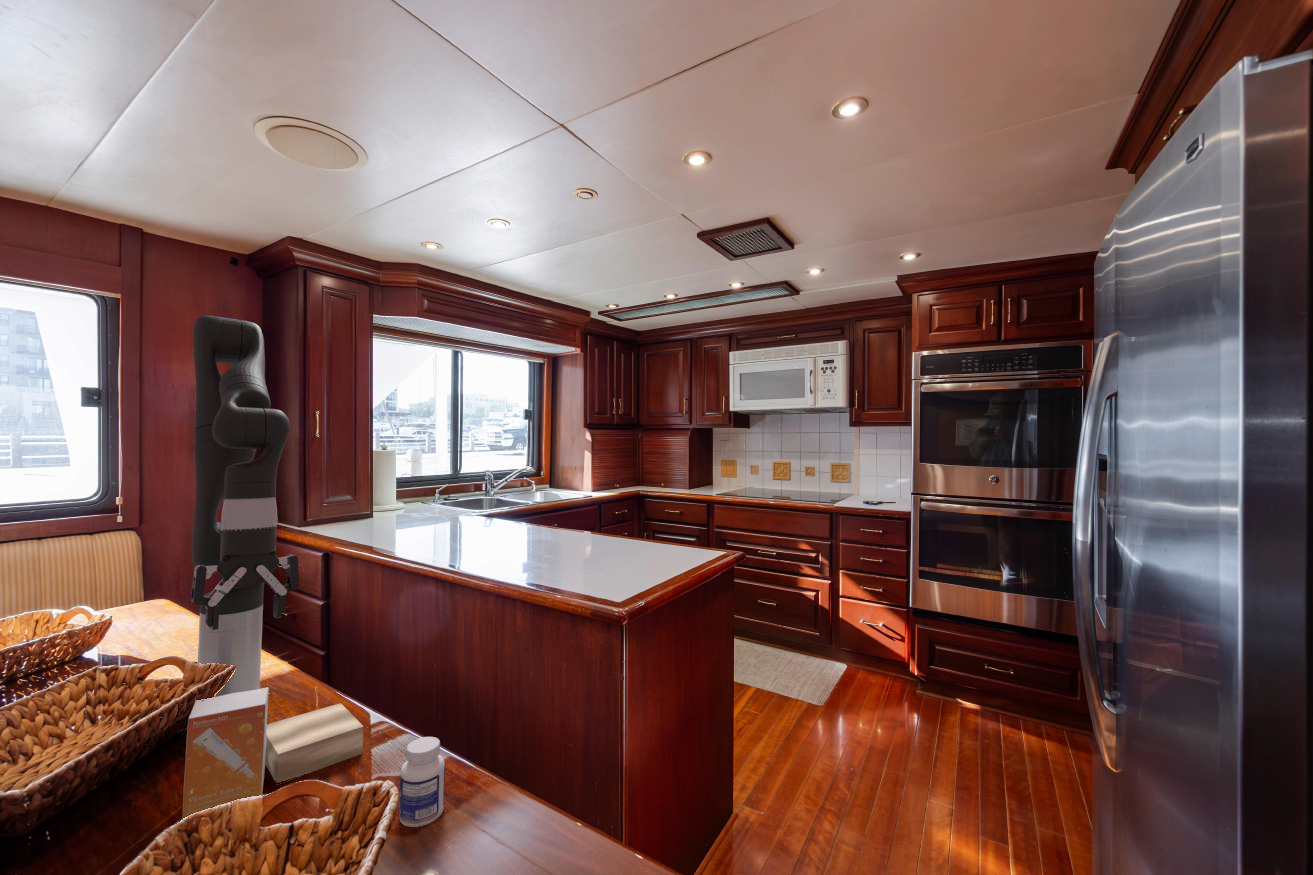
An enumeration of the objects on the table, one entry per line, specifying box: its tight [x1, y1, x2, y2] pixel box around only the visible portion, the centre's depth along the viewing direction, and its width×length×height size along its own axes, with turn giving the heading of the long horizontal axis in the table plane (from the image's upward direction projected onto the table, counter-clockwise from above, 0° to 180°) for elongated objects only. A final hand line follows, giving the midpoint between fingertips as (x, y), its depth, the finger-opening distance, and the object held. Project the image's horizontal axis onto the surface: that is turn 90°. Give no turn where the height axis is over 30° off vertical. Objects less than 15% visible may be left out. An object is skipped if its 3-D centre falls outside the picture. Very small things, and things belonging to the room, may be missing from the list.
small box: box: [181, 686, 270, 820], centre depth 71 cm, size 8×6×13 cm
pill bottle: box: [398, 736, 446, 828], centre depth 69 cm, size 5×5×9 cm
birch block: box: [265, 702, 364, 783], centre depth 82 cm, size 11×11×4 cm
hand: (246, 622), depth 89 cm, fingers open, 8 cm apart
